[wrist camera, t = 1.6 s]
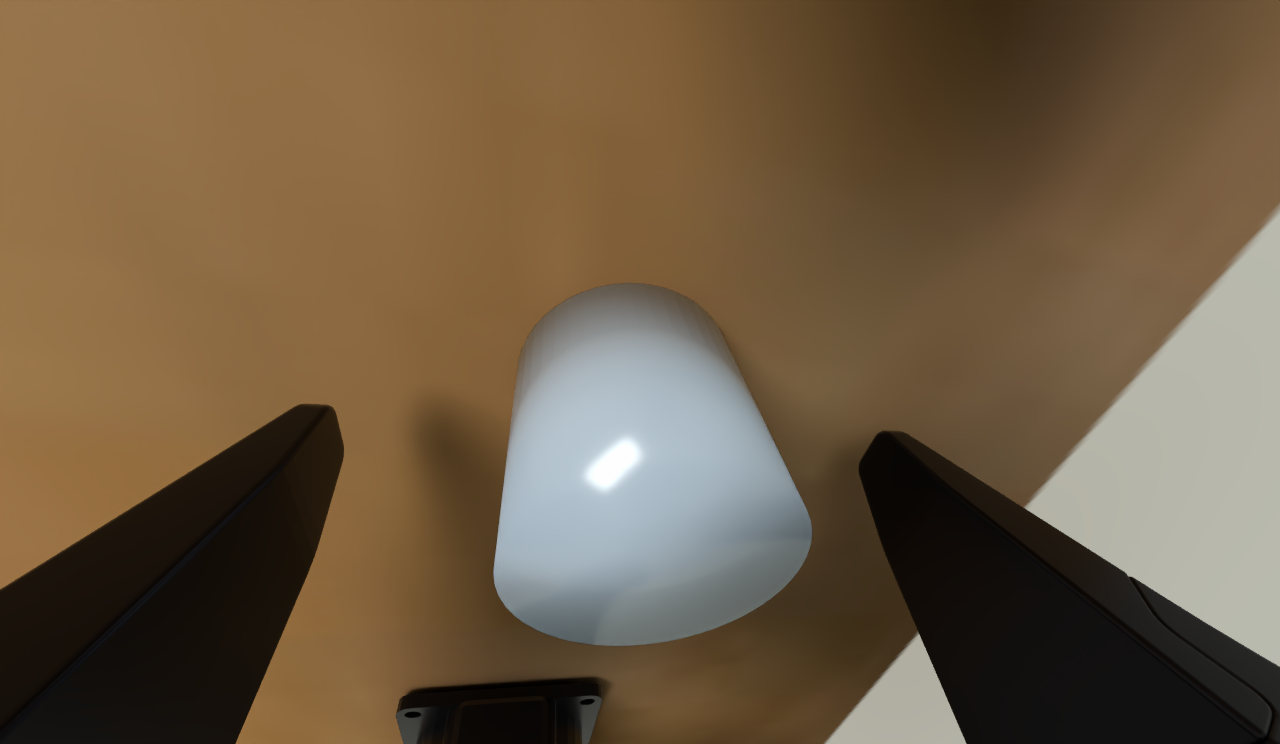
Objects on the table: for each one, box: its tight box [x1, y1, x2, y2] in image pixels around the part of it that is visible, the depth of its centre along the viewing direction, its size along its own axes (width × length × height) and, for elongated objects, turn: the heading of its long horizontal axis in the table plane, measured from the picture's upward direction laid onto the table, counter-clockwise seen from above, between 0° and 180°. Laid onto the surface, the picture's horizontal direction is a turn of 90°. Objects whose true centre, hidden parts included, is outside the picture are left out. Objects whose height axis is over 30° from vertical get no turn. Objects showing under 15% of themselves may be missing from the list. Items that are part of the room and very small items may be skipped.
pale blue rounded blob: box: [493, 283, 812, 646], centre depth 8 cm, size 4×4×4 cm
